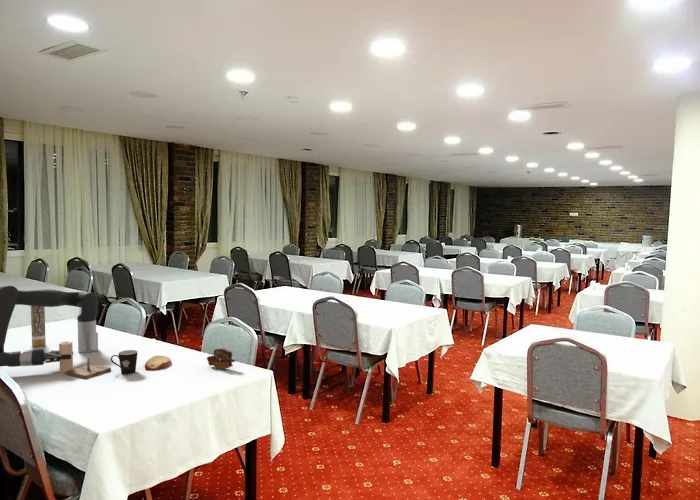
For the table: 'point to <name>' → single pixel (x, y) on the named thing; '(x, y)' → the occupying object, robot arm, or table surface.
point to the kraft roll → (66, 349)
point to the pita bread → (157, 363)
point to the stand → (88, 370)
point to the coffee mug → (127, 361)
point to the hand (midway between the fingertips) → (71, 355)
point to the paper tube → (38, 325)
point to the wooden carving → (221, 359)
